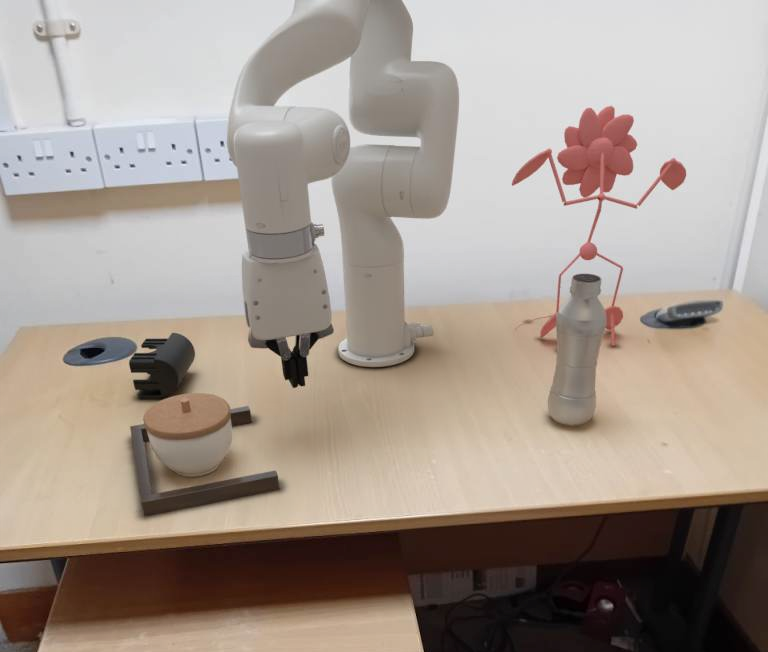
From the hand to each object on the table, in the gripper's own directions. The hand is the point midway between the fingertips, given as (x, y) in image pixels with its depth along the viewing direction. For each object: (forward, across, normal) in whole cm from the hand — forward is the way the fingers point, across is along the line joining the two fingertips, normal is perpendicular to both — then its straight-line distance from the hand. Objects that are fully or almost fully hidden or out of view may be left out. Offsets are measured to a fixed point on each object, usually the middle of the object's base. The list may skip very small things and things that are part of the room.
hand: (296, 382), depth 102 cm
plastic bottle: (+10, -36, +8) cm, 38 cm away
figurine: (+11, -52, -19) cm, 57 cm away
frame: (+8, +14, +1) cm, 16 cm away
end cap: (+9, +16, -24) cm, 30 cm away
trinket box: (+9, +15, +1) cm, 17 cm away
